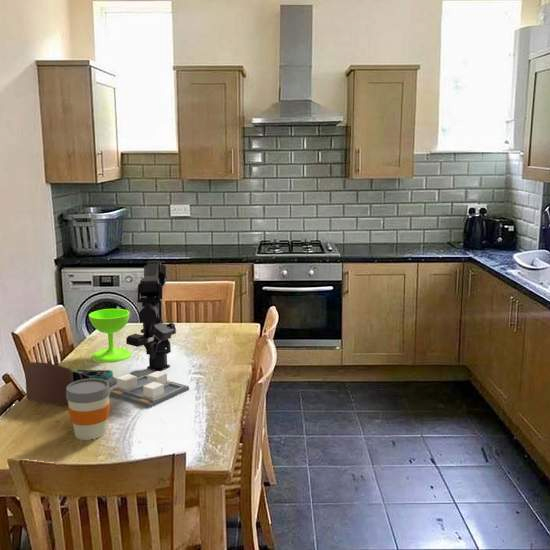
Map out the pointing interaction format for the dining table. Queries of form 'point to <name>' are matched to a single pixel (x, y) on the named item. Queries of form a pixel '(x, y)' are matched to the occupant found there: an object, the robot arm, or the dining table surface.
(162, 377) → the cream block
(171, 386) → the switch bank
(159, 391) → the cream square block
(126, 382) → the white block
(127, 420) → the dining table surface
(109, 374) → the digital multimeter
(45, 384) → the letter holder
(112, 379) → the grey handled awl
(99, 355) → the wineglass
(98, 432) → the reusable coffee cup
